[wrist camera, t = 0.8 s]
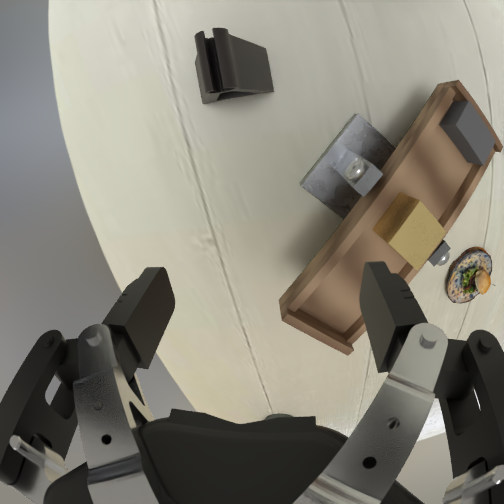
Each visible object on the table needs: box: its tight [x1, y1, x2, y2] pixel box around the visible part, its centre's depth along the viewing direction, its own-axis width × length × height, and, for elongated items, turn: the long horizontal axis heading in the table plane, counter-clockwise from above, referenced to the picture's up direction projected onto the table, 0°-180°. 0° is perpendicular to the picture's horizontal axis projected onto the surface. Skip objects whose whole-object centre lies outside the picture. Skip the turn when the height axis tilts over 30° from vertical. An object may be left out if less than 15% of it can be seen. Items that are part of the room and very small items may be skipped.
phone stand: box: [195, 28, 274, 104], centre depth 23 cm, size 9×6×12 cm, turn 99°
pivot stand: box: [300, 114, 451, 266], centre depth 29 cm, size 12×18×11 cm, turn 56°
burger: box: [447, 247, 495, 303], centre depth 36 cm, size 12×12×8 cm
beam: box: [279, 80, 503, 355], centre depth 25 cm, size 32×10×4 cm, turn 146°
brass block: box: [372, 192, 446, 271], centre depth 24 cm, size 5×5×4 cm
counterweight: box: [439, 101, 496, 166], centre depth 20 cm, size 4×6×3 cm, turn 56°
